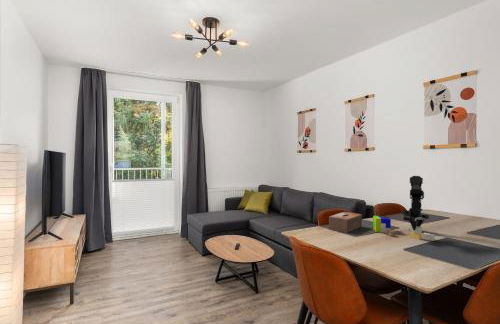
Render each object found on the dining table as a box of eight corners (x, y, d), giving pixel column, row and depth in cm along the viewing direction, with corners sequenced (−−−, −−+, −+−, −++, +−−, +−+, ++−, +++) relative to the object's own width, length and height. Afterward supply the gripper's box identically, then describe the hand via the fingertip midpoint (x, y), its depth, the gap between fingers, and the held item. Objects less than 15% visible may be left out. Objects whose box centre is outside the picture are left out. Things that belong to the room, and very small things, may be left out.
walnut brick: (385, 234, 204) (385, 229, 204) (389, 234, 204) (389, 229, 204) (390, 236, 198) (390, 231, 198) (394, 236, 199) (394, 231, 198)
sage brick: (410, 230, 195) (410, 225, 195) (413, 230, 197) (413, 225, 197) (418, 232, 190) (418, 227, 190) (421, 232, 191) (421, 227, 191)
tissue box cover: (344, 223, 236) (344, 211, 236) (361, 226, 226) (361, 214, 225) (328, 229, 217) (328, 216, 217) (346, 233, 207) (346, 219, 207)
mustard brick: (409, 237, 195) (410, 232, 195) (412, 237, 197) (412, 232, 197) (419, 240, 190) (419, 234, 190) (421, 239, 192) (421, 234, 192)
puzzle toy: (390, 232, 207) (390, 219, 207) (375, 232, 209) (375, 218, 209) (386, 229, 217) (387, 216, 217) (372, 228, 219) (372, 215, 219)
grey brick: (422, 238, 193) (422, 233, 193) (425, 237, 195) (425, 232, 195) (432, 240, 188) (432, 235, 188) (434, 240, 190) (434, 234, 190)
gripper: (413, 204, 204) (413, 225, 205) (396, 206, 196) (395, 228, 197) (429, 206, 194) (429, 229, 195) (411, 208, 186) (411, 232, 187)
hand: (415, 229), depth 193 cm, fingers closed on sage brick, 3 cm apart
